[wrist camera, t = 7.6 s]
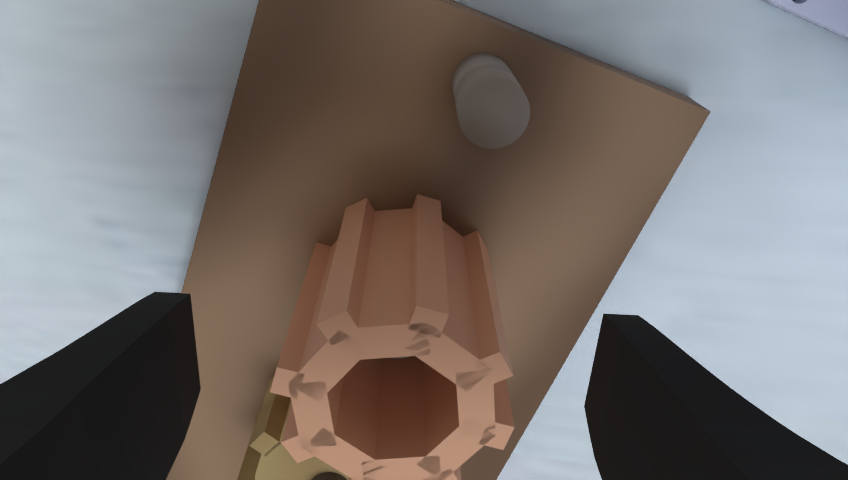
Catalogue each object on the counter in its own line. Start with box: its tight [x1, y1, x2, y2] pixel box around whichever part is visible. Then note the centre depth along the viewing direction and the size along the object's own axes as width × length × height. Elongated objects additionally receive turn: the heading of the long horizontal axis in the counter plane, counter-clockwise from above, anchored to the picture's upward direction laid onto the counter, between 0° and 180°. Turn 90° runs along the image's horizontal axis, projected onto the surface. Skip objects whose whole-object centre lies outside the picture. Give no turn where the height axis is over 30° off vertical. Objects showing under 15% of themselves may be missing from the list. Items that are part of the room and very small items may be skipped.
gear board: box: [166, 0, 710, 480], centre depth 20 cm, size 12×20×5 cm, turn 159°
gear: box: [270, 194, 514, 480], centre depth 17 cm, size 5×5×6 cm
